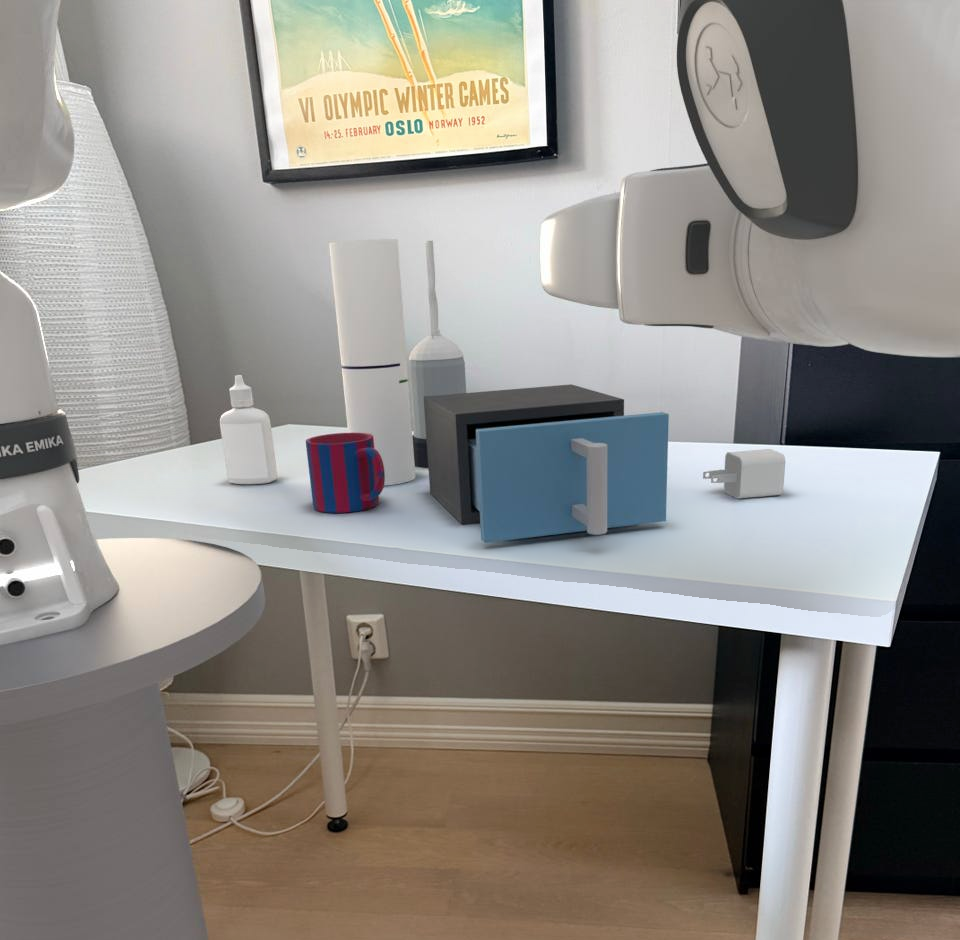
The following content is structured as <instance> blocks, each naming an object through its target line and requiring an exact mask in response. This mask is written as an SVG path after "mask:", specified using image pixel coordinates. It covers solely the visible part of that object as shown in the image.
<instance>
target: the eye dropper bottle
mask: <svg viewBox="0 0 960 940" xmlns="http://www.w3.org/2000/svg"><path fill="white" fill-rule="evenodd" d="M228 391H229V398H230V405H231V407H232V409H229V410H227V411H225V412H224V413H222V414H221V416H220V417H219V428H220V436H221V442H222V449H223V455H224V463H225V468H226V469H225V471H226V475H227V476H226V477H227V480H228V482H229V483H231V484H234V485H264V484H265V485H266V484H269V483H272V482H274V481H276V480H277V479H278V467H277V461H276V460H277V459H276V453H275V446H274V445H275V444H274V439H273V430H272V424H271V419H270V416H269V414H268V413H266V412H265V411H264V410H262V409H259V408H255V407H254V398H253V391H252V387H251V386H249V385H246V384H245V381H244V378H243V376H242V374H237V375H234V385H232V387H230V388H229V390H228Z"/></svg>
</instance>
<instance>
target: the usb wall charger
mask: <svg viewBox="0 0 960 940" xmlns="http://www.w3.org/2000/svg"><path fill="white" fill-rule="evenodd" d="M724 457H725V458H724V469H716V470H707V471H703V472H702V479H705V480H706V479H707V480H708V479H710V483H711V484H722V483H723V488H724V489H723V490H724V492H725V493H726V494H728V495H730V496H731V497H733V498H735V499H736V500H737V499H749V498H761V497H763V498H764V497H773V496H782V494H783V492H784V486H785V485H784V484H785V472H786V457H785V454H784V453H782V452H779V451H778V450H774V449H772V448H763V449H753V450H741V451H740V450H739V451H728V452H726V454H725V456H724ZM707 474H708V476H706V475H707ZM714 479H716V480H715V481H714Z"/></svg>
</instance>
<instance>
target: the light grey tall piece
mask: <svg viewBox="0 0 960 940" xmlns="http://www.w3.org/2000/svg"><path fill="white" fill-rule="evenodd" d="M425 255H426V269H427V271H426V272H427V294H428V295H427V296H428V304H429V318H430V329H429V334H428V335H427V336H426V337H425V338H424V339H422V340H420V341H419V342H418V343H417V344H416V345H415V346H414V347H413V349H411V352H410V353H409V356H408V365H407V368H408V381H409V394H410V408H411V421H412V437H413V450H414V463H415V467H418V468H428V455H427V441H426V426H425V412H424V397H425V396H437V395H449V394H461V393H467V379H466V363H465V358H464V353H463V352H462V350H461V348H460V347H459V346H458V345H457V344H456V343H455V342H454V341H452V340H451V339H449V338H447V337H445V336H444V335H442V333H441V331H440V329H439V305H438V298H437V293H436V292H437V291H436V266H435V265H436V264H435V251H434V241H433V240H426V243H425Z"/></svg>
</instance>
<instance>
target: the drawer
mask: <svg viewBox="0 0 960 940" xmlns="http://www.w3.org/2000/svg"><path fill="white" fill-rule="evenodd" d="M669 418H670V416H669V413H667V412H664V411H661V412H660V411H659V412H650V413H648V412H647V413H637V414H627V415H624V416H615V417H604V418H593V419H582V420H571V421H560V422H549V423H538V424H528V425H517V426H506V427H495V428H484V429H476V439H468V457H469V476H470V494H471V504H472V505H473V506H474V507H475V508H477V509H478V510H479V511H480V522H479V525H480V540H481V541H482V542H483V543H485V544H487V543H495V542H502V541H503V542H504V541H511V540H520V539H527V538H537V537H544V536H552V535H560V534H570V533H579V532H587V534H589V535H595V536H598V535H604V534H607V533H608V529H611V528H619V527H620V528H621V527H626V526H627V527H628V526H637V525H644V524H652V523H661V522H666V521H667V498H668V497H667V493H668V459H669V458H668V457H669V421H670V419H669Z"/></svg>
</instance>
